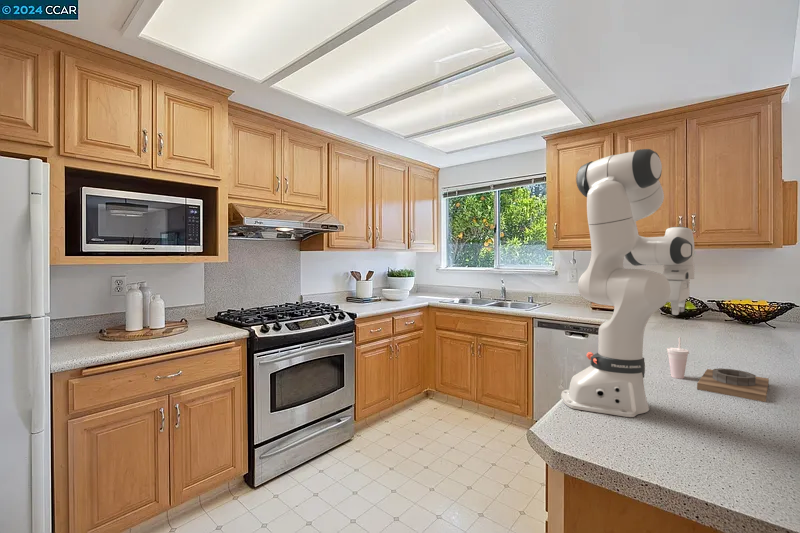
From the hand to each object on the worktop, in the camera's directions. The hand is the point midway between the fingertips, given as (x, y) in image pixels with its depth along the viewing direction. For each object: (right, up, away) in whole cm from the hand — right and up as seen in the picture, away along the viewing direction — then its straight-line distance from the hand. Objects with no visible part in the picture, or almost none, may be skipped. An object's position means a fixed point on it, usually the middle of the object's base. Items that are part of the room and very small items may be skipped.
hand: (678, 313), depth 136 cm
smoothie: (0, -23, 0) cm, 23 cm away
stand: (+11, -23, -10) cm, 27 cm away
